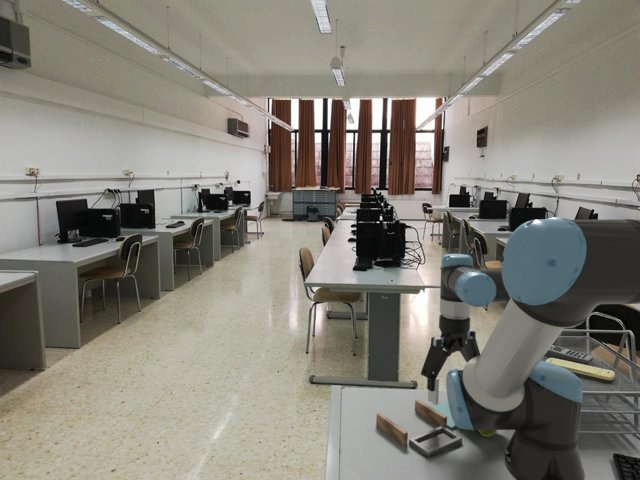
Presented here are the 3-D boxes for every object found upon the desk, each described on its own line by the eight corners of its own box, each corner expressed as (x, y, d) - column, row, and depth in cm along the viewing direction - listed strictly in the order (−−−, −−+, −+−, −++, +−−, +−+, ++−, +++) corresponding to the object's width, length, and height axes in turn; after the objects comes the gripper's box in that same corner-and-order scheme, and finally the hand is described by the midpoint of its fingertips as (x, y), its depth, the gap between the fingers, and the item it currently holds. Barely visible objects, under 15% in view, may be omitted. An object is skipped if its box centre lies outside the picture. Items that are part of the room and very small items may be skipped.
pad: (478, 418, 110) (478, 416, 110) (451, 429, 105) (451, 427, 105) (447, 401, 119) (447, 399, 119) (421, 411, 113) (421, 409, 113)
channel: (446, 428, 106) (447, 416, 105) (404, 445, 98) (404, 433, 98) (417, 409, 114) (417, 399, 114) (376, 425, 107) (376, 413, 106)
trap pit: (462, 442, 100) (462, 437, 100) (428, 458, 94) (428, 453, 94) (442, 430, 105) (442, 425, 105) (408, 443, 99) (409, 439, 99)
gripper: (474, 305, 118) (471, 379, 120) (407, 318, 105) (405, 401, 107) (498, 312, 112) (494, 390, 114) (430, 326, 99) (427, 414, 101)
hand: (451, 396), depth 111 cm, fingers open, 13 cm apart
